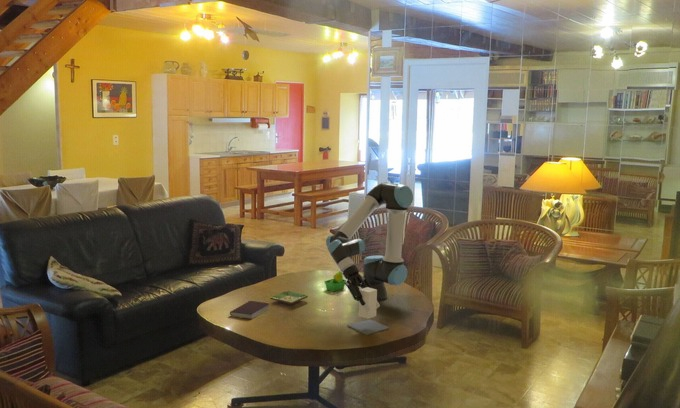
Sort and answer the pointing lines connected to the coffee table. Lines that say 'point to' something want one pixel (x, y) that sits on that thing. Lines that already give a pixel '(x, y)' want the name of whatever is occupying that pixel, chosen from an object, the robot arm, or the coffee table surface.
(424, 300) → the coffee table surface
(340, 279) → the fruit basket
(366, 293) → the cream block
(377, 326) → the slate mat
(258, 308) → the book
